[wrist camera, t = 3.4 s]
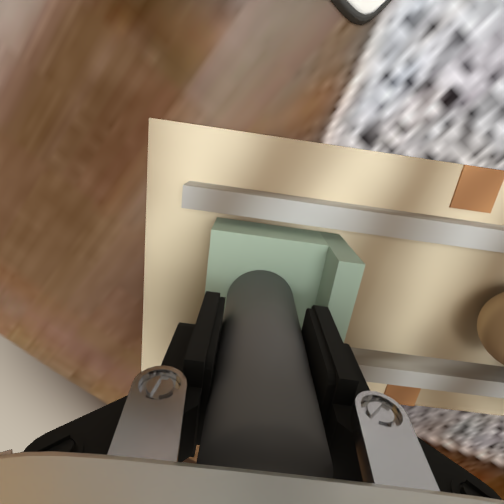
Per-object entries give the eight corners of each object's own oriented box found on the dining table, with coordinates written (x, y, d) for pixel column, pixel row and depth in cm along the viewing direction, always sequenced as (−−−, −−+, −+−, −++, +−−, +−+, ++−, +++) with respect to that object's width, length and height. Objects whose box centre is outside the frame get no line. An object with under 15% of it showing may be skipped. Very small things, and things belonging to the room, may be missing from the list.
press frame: (624, 188, 17) (895, 227, 10) (513, 400, 21) (641, 531, 14) (158, 119, 16) (79, 105, 9) (149, 355, 20) (93, 471, 13)
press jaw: (339, 234, 16) (469, 385, 6) (314, 337, 18) (383, 574, 8) (217, 217, 16) (154, 345, 6) (205, 324, 18) (145, 549, 8)
